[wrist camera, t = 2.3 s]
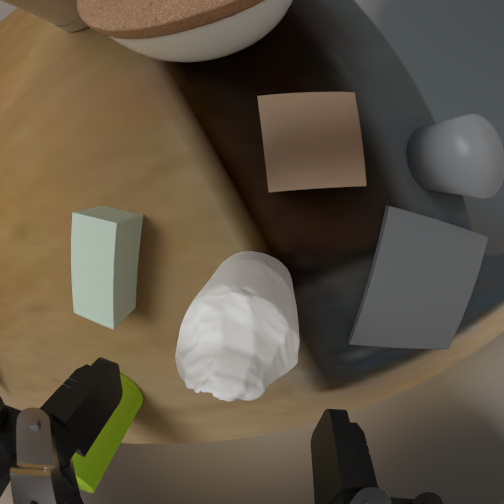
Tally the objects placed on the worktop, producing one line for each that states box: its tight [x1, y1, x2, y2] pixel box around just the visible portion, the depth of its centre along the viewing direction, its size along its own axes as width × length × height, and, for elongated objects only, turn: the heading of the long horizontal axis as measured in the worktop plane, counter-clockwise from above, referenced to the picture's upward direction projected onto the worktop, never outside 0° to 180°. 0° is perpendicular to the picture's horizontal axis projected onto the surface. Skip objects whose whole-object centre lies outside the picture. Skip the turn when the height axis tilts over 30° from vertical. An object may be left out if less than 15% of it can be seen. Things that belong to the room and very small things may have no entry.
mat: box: [348, 205, 488, 349], centre depth 18 cm, size 11×11×1 cm
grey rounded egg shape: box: [406, 114, 504, 199], centre depth 13 cm, size 5×5×6 cm
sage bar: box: [71, 206, 143, 330], centre depth 18 cm, size 8×4×4 cm, turn 167°
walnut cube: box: [257, 92, 366, 192], centre depth 15 cm, size 5×5×5 cm
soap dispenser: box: [72, 373, 143, 493], centre depth 15 cm, size 6×7×20 cm
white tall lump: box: [175, 251, 300, 402], centre depth 14 cm, size 6×12×6 cm
